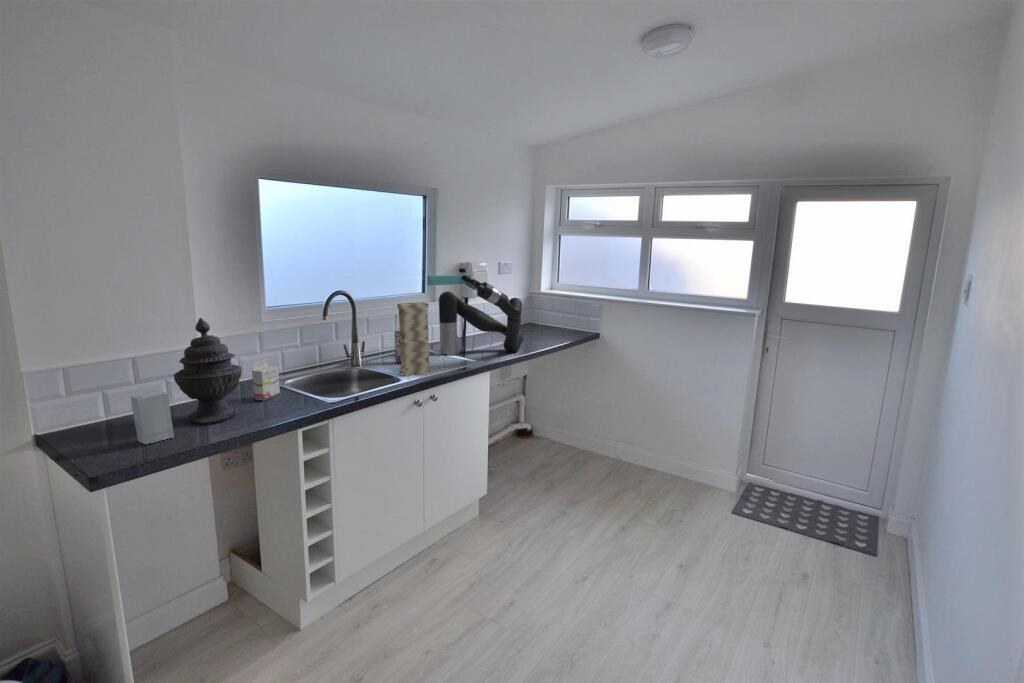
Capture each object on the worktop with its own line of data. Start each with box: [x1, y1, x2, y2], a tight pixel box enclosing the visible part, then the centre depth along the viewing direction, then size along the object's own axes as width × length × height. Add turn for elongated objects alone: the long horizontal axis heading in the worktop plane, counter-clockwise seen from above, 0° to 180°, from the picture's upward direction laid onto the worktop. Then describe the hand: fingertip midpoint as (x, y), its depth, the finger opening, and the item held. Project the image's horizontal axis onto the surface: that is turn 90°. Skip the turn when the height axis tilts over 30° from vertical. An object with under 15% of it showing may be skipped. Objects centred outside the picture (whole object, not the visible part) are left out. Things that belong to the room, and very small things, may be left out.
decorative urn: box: [173, 317, 243, 424], centre depth 181 cm, size 20×20×35 cm
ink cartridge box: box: [251, 358, 281, 399], centre depth 205 cm, size 9×5×15 cm, turn 160°
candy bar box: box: [394, 328, 401, 363], centre depth 266 cm, size 11×5×16 cm, turn 84°
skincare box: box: [130, 389, 175, 444], centre depth 161 cm, size 8×6×15 cm
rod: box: [426, 274, 472, 286], centre depth 246 cm, size 20×4×4 cm, turn 120°
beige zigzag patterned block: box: [396, 301, 432, 377], centre depth 242 cm, size 12×7×32 cm, turn 120°
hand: (460, 276), depth 249 cm, fingers closed on rod, 4 cm apart
